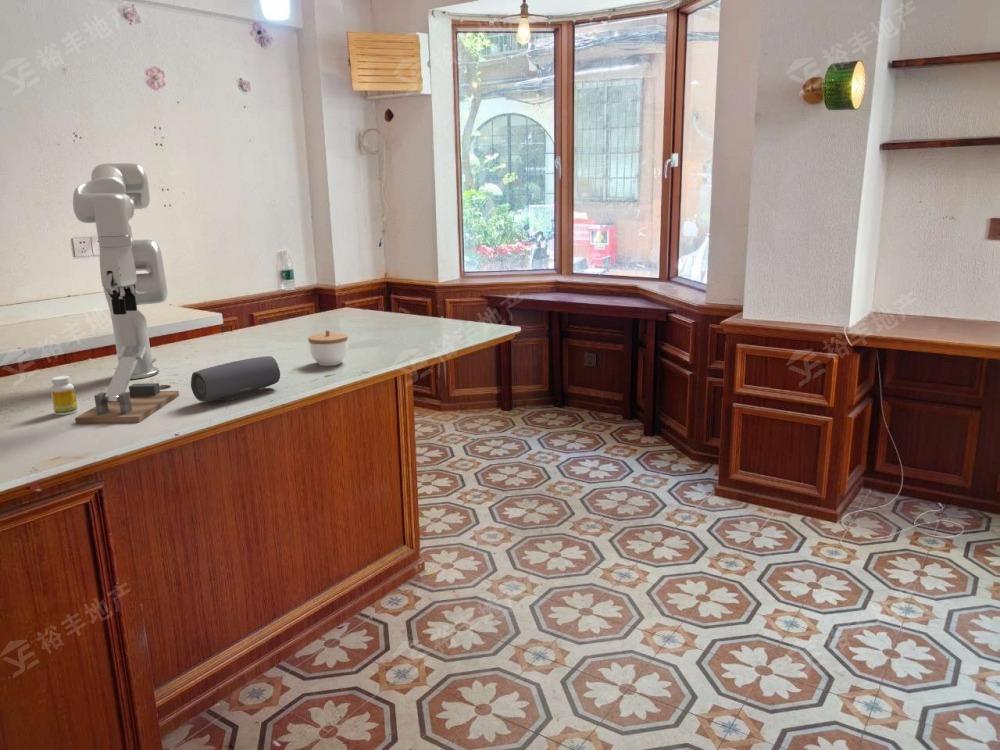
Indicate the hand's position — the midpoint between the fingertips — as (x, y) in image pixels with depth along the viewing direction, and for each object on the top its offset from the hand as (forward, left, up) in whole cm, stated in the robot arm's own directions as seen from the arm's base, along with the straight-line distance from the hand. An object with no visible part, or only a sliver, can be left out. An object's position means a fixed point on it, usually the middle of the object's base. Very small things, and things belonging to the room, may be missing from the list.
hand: (125, 311), depth 195 cm
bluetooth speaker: (-5, +25, -26) cm, 37 cm away
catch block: (-4, 0, -24) cm, 24 cm away
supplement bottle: (+7, -16, -26) cm, 31 cm away
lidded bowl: (-43, +43, -26) cm, 66 cm away
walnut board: (+5, 0, -25) cm, 26 cm away
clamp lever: (+5, 0, -16) cm, 17 cm away
